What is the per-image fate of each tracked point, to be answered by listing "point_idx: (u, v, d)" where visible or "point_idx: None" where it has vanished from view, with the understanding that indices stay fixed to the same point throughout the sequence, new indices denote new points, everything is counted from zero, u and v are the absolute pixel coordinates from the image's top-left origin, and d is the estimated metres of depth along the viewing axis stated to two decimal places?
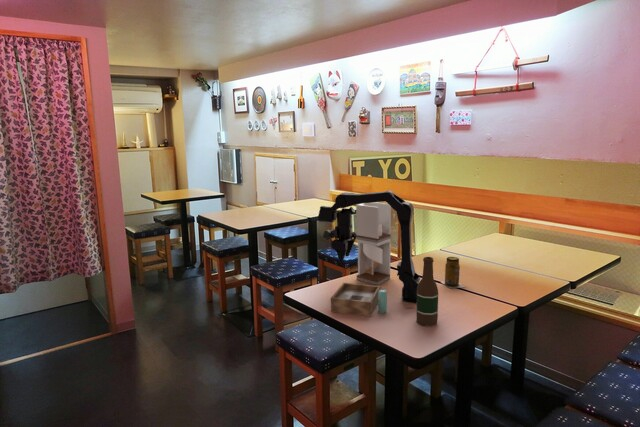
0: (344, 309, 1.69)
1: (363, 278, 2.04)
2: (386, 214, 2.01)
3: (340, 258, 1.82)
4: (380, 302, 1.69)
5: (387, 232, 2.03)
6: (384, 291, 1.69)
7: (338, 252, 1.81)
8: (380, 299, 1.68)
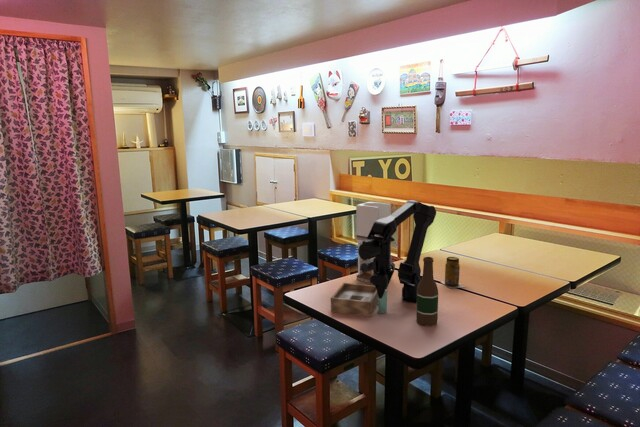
0: (344, 309, 1.69)
1: (363, 278, 2.04)
2: (386, 214, 2.01)
3: (379, 293, 1.64)
4: (380, 302, 1.69)
5: None
6: None
7: (377, 287, 1.63)
8: (380, 299, 1.68)
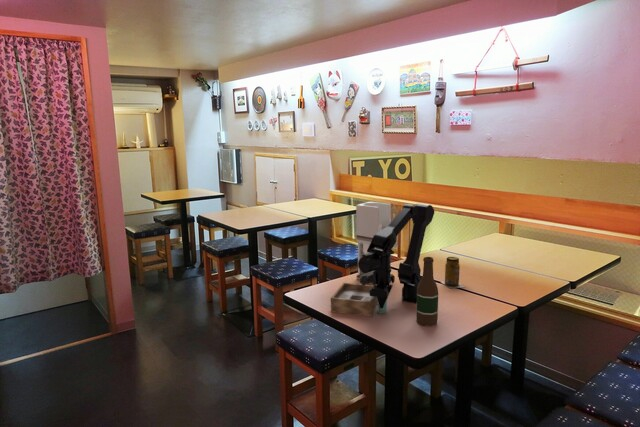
0: (344, 309, 1.69)
1: None
2: (386, 214, 2.01)
3: (381, 303, 1.67)
4: None
5: None
6: None
7: (379, 297, 1.66)
8: None
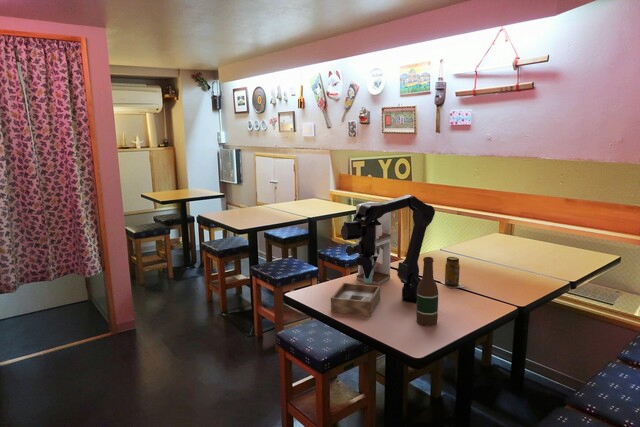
0: (344, 309, 1.69)
1: (363, 278, 2.04)
2: (386, 214, 2.01)
3: (366, 273, 1.68)
4: None
5: (387, 232, 2.03)
6: None
7: (364, 267, 1.67)
8: None
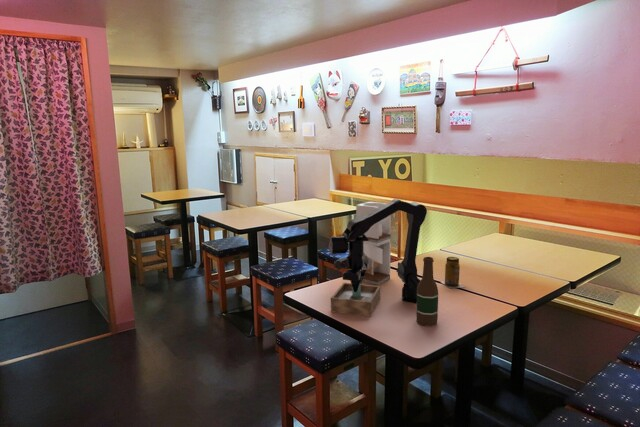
0: (344, 309, 1.69)
1: (363, 278, 2.04)
2: None
3: (354, 287, 1.73)
4: None
5: (387, 232, 2.03)
6: None
7: (352, 281, 1.72)
8: None
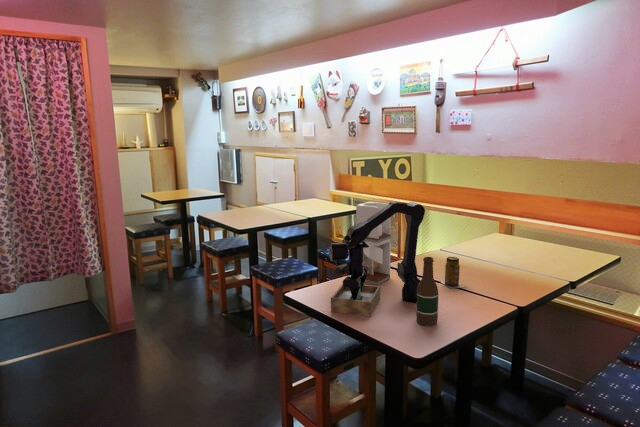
0: (344, 309, 1.69)
1: None
2: None
3: (353, 295, 1.72)
4: None
5: (387, 232, 2.03)
6: None
7: (351, 289, 1.71)
8: None
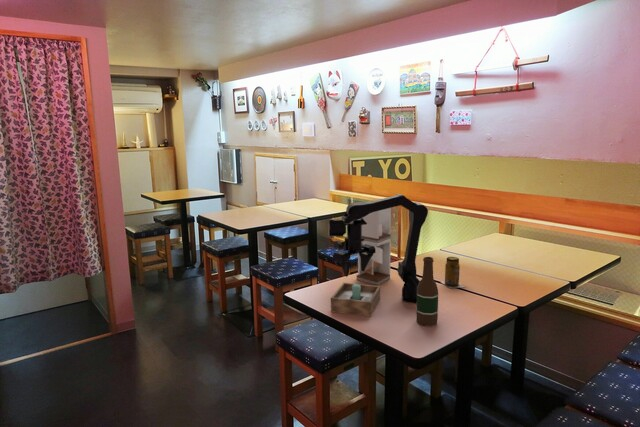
0: (344, 309, 1.69)
1: (363, 278, 2.04)
2: (386, 214, 2.01)
3: (344, 271, 1.74)
4: (354, 296, 1.75)
5: (387, 232, 2.03)
6: (358, 285, 1.75)
7: (342, 265, 1.73)
8: (354, 293, 1.75)
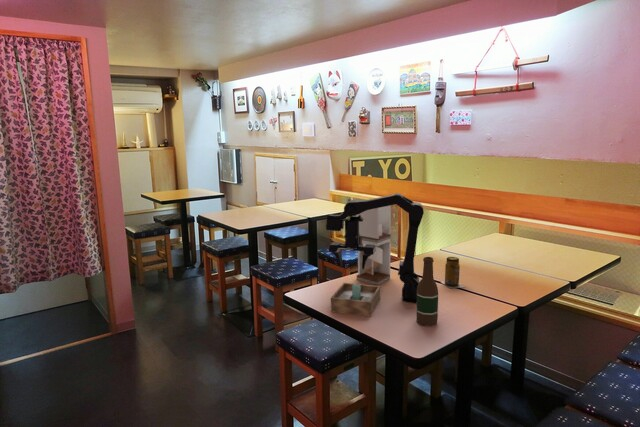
0: (344, 309, 1.69)
1: (363, 278, 2.04)
2: (386, 214, 2.01)
3: None
4: (354, 296, 1.75)
5: (387, 232, 2.03)
6: (358, 285, 1.75)
7: None
8: (354, 293, 1.75)
